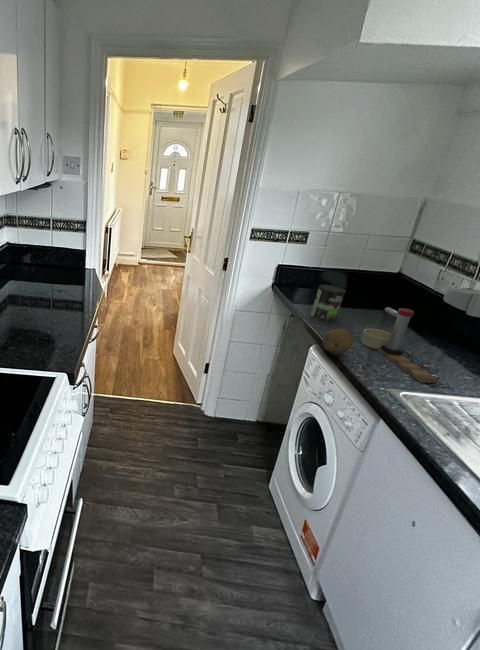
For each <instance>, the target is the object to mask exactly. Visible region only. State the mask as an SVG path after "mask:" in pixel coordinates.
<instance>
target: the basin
mask: <svg viewBox="0 0 480 650" xmlns="http://www.w3.org/2000/svg"><path fill="white" fill-rule="evenodd" d="M391 333H392V332H389V331H386V330H384V329H379V328H372V327H371V328H365V329H363V331H362V334H361V337H360V340H359V341H360V343H361V344H362V345H364V346H365V347H368V348H371V349H374V350H378V349H379V348H381V347H382V345H386V346H387V344H388V341H389V338H390V336H391Z"/></svg>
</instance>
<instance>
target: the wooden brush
mask: <svg viewBox="0 0 480 650" xmlns="http://www.w3.org/2000/svg"><path fill="white" fill-rule="evenodd" d="M377 352H379V354H381V355H382V356H384V357H385V358H386V359H388V360H389V361H390V362H392V363H393V364H394V365H395V366H397V367H398V368H400V369H401V370H402V371H404V372H405V373H407V375H409V376H411V377H412V378H414V379H415V380H417V382H419V383H425V384H426V383H427V384H437V381H438V378H437V377H435V376H433V375H432V374H431V373H429V372H428V371H426V370H425V369H423V368H422V367H420V366H419V365H417V364H416V363H414V362H413V361H411V360H409V359H408V358H407V357H405V356H404V355H403V354H402V355H391V354H387V353H386V352H385V351H383V350H382V349H381V348H379V349H377Z"/></svg>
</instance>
